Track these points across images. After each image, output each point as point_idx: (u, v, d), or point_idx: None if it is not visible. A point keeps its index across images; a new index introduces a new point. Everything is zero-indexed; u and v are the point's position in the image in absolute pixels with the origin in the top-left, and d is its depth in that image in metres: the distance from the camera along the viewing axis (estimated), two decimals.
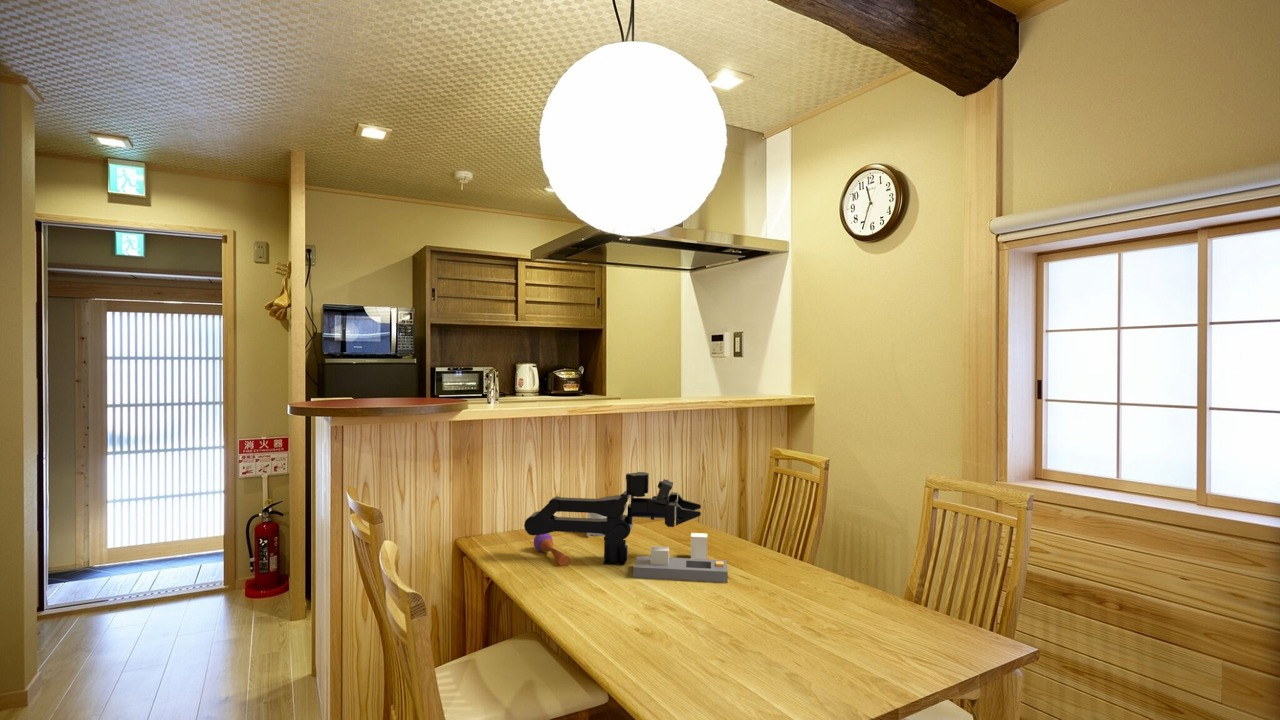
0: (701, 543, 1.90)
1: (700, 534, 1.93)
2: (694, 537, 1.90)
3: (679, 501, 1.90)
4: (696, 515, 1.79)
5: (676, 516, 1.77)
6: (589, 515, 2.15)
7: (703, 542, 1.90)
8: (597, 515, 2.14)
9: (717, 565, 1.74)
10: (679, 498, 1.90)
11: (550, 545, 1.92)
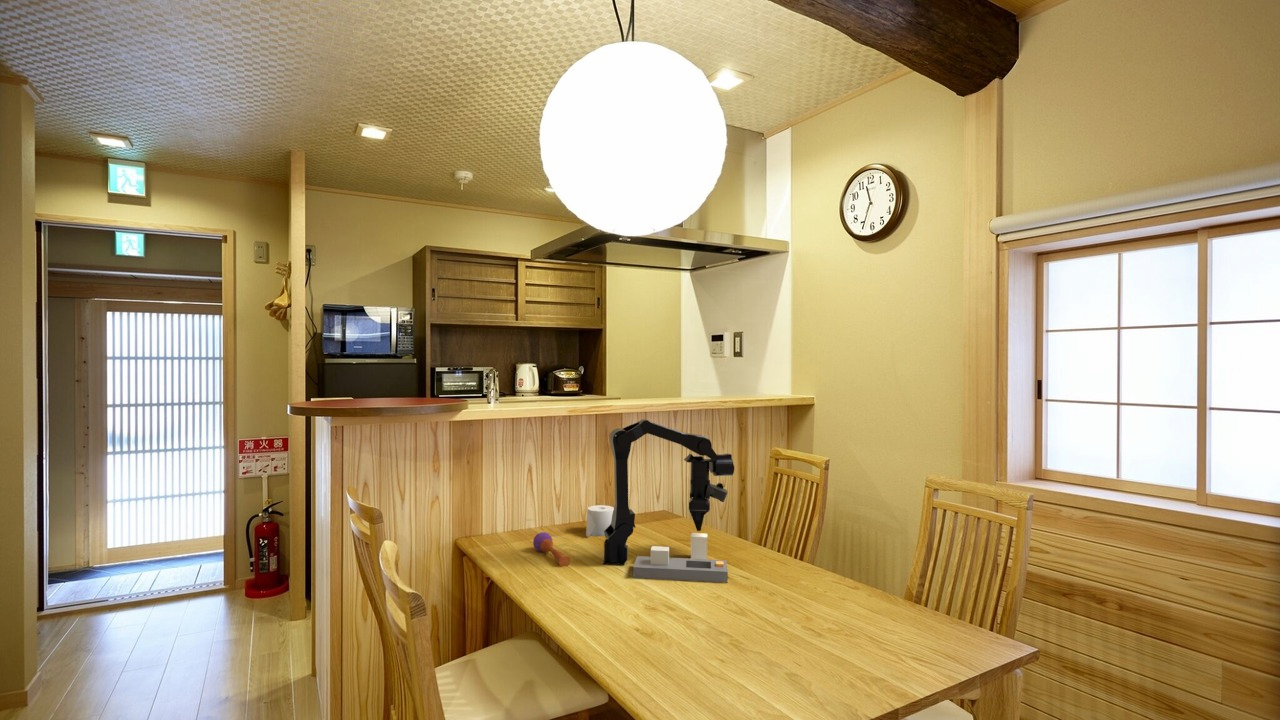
0: (701, 544, 1.90)
1: (700, 534, 1.93)
2: (694, 537, 1.90)
3: None
4: (697, 527, 1.87)
5: (698, 510, 1.84)
6: (588, 515, 2.15)
7: (703, 542, 1.90)
8: (596, 515, 2.14)
9: (717, 565, 1.74)
10: None
11: (550, 545, 1.91)
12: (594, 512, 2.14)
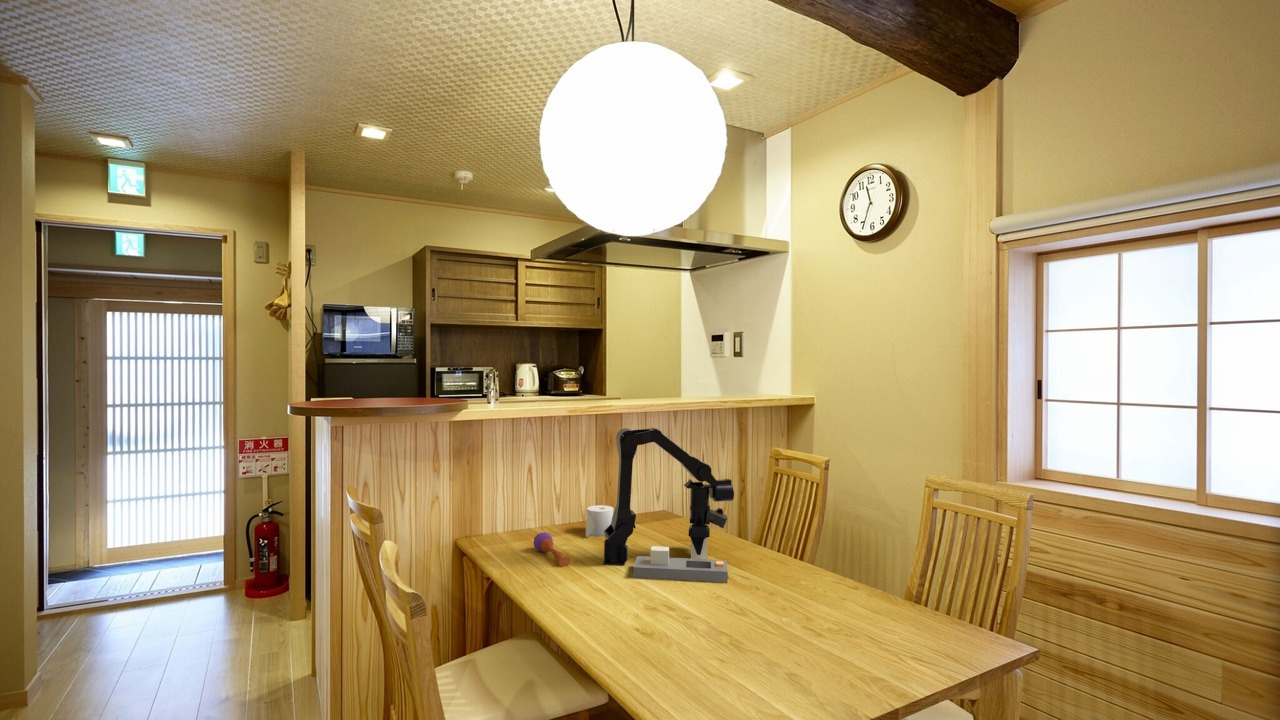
0: None
1: None
2: None
3: None
4: (697, 551, 1.89)
5: None
6: (588, 515, 2.15)
7: (703, 542, 1.90)
8: (596, 515, 2.14)
9: (717, 565, 1.74)
10: None
11: (550, 545, 1.91)
12: (593, 512, 2.14)
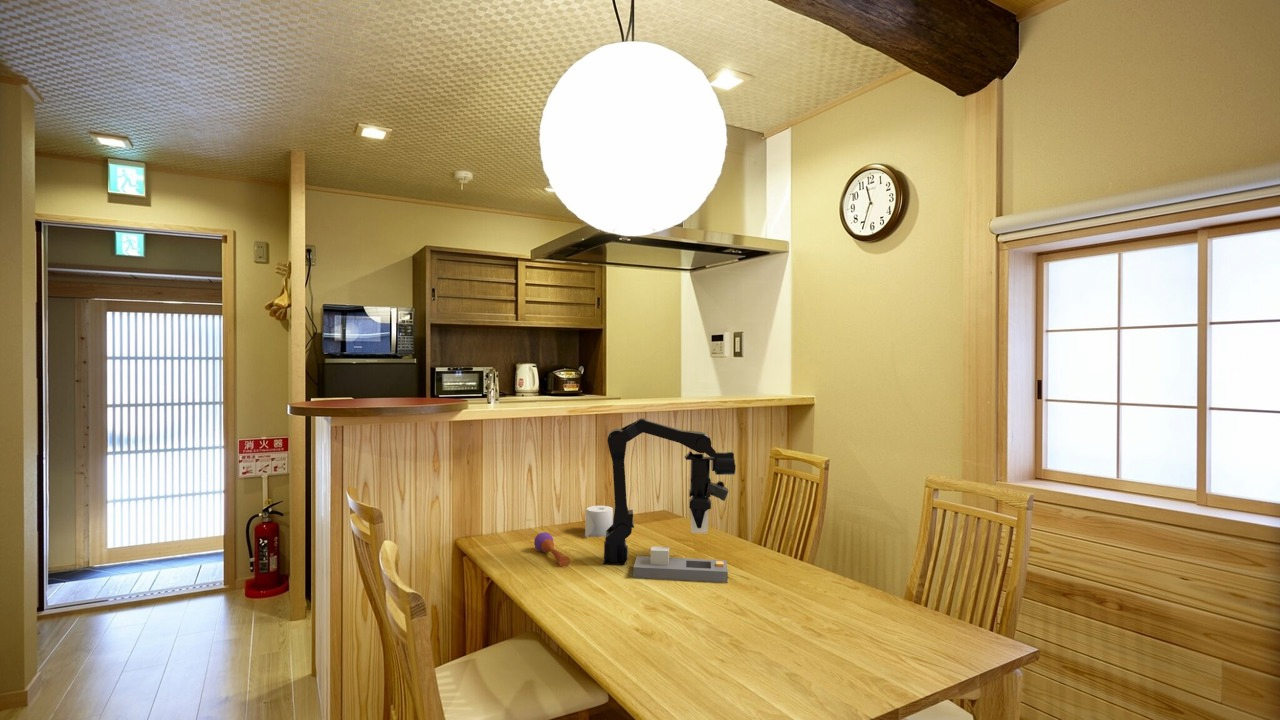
0: None
1: None
2: None
3: None
4: (698, 524, 1.85)
5: None
6: (587, 516, 2.14)
7: (704, 515, 1.85)
8: (595, 515, 2.13)
9: (717, 565, 1.74)
10: None
11: (550, 545, 1.91)
12: (593, 512, 2.14)
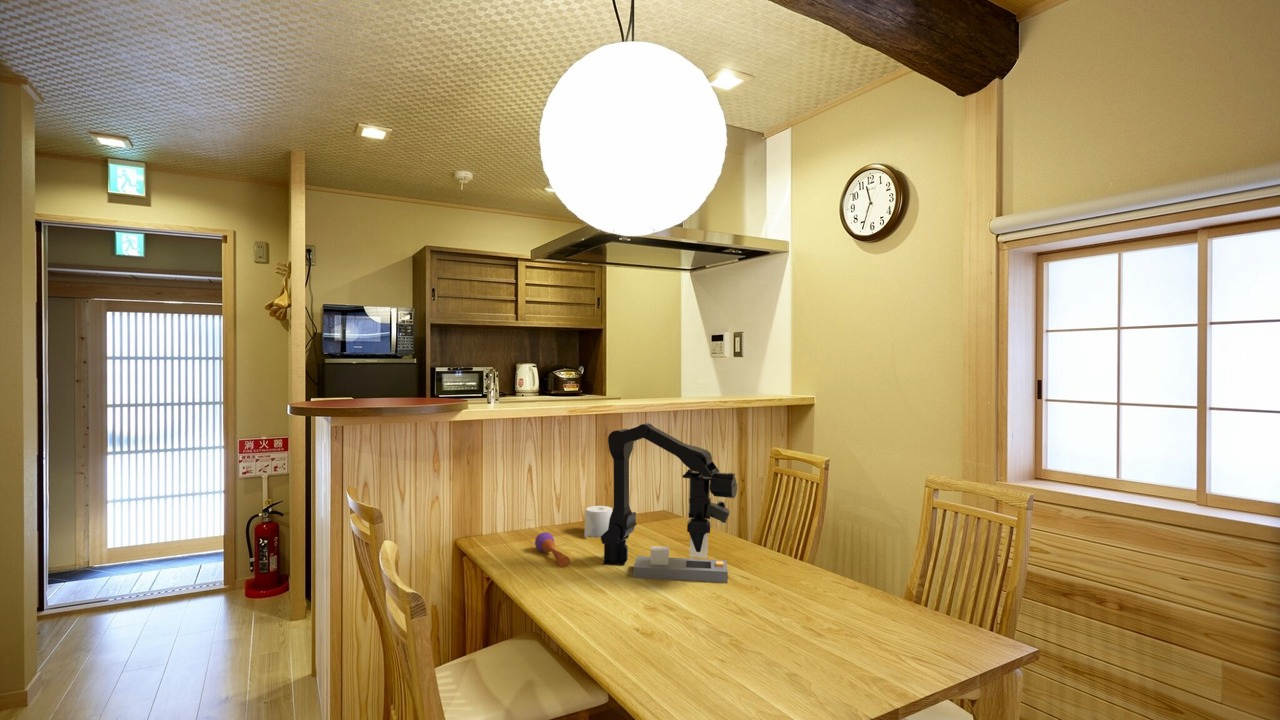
0: None
1: None
2: None
3: None
4: (696, 548, 1.73)
5: None
6: (587, 516, 2.14)
7: (703, 538, 1.74)
8: (595, 516, 2.13)
9: (717, 565, 1.74)
10: None
11: (551, 545, 1.91)
12: (592, 513, 2.13)
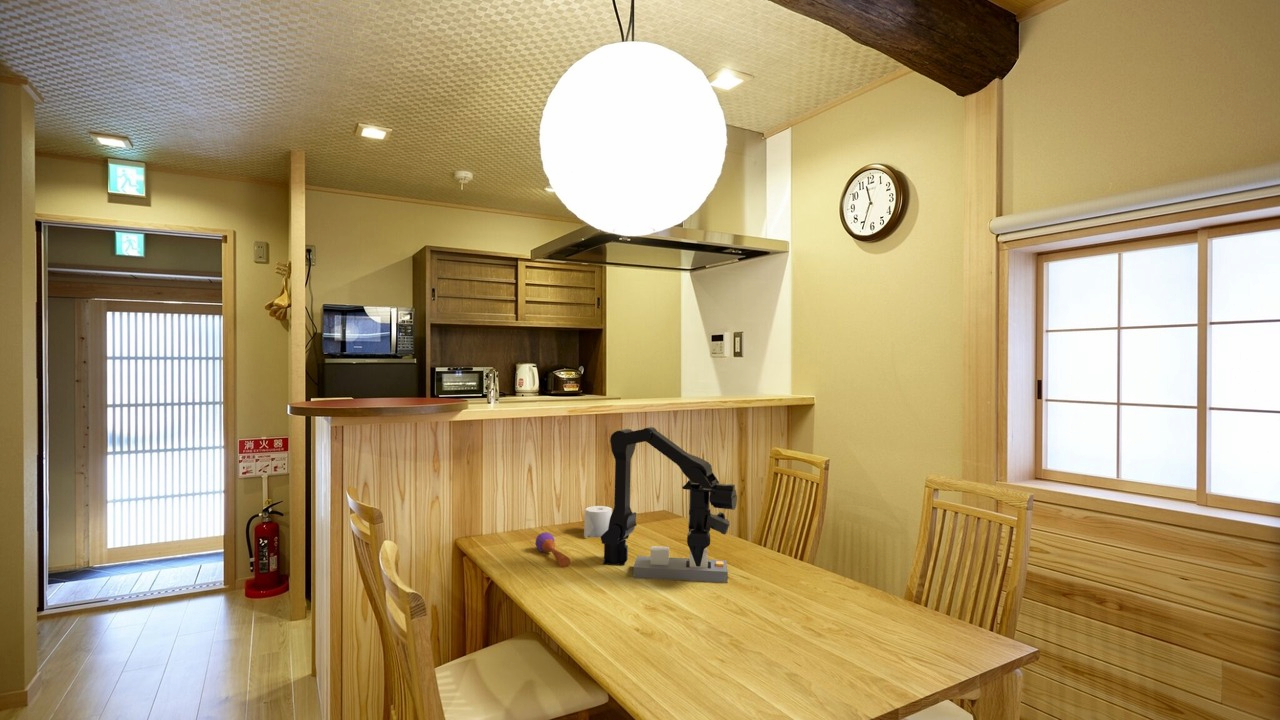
0: None
1: None
2: None
3: None
4: (696, 562, 1.71)
5: (697, 545, 1.68)
6: (586, 516, 2.14)
7: (703, 559, 1.74)
8: (594, 516, 2.13)
9: (717, 565, 1.74)
10: None
11: (551, 545, 1.91)
12: (592, 513, 2.13)
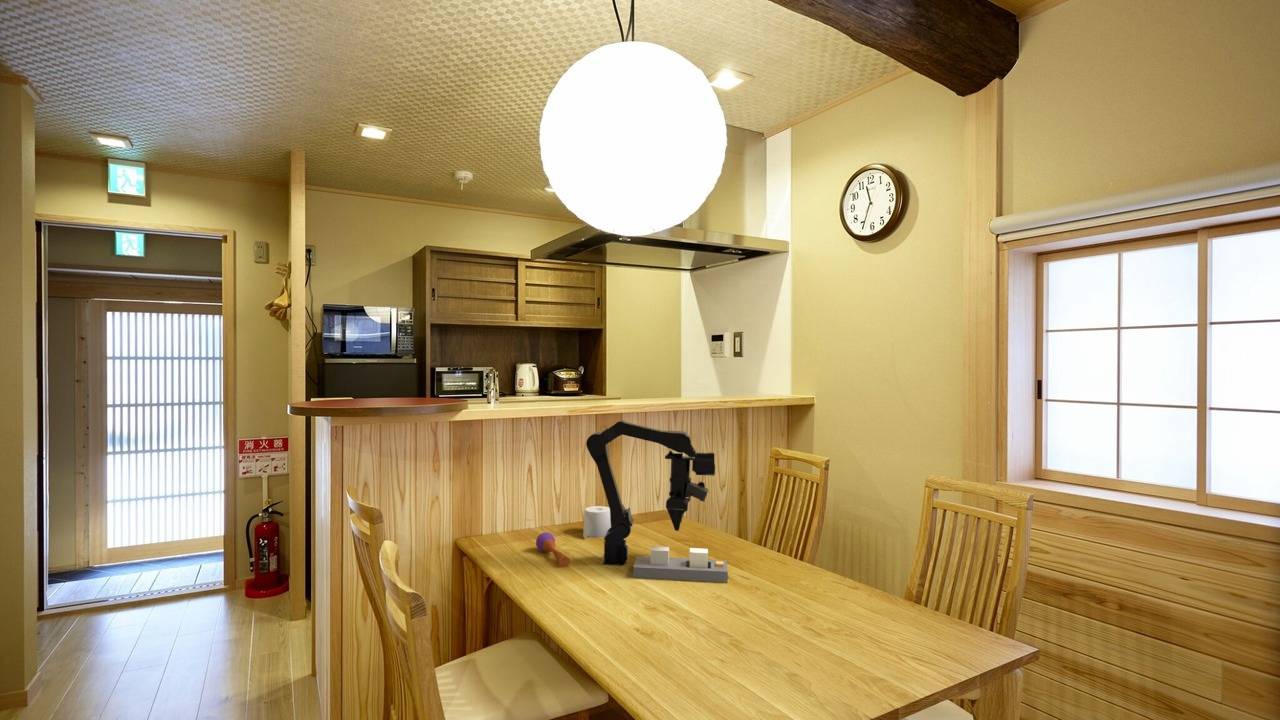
0: (701, 560, 1.74)
1: (700, 549, 1.77)
2: (693, 553, 1.74)
3: None
4: (675, 526, 1.80)
5: (676, 509, 1.77)
6: (586, 516, 2.14)
7: (703, 559, 1.74)
8: (594, 516, 2.12)
9: (717, 565, 1.74)
10: (687, 501, 1.90)
11: (552, 545, 1.91)
12: (591, 513, 2.13)
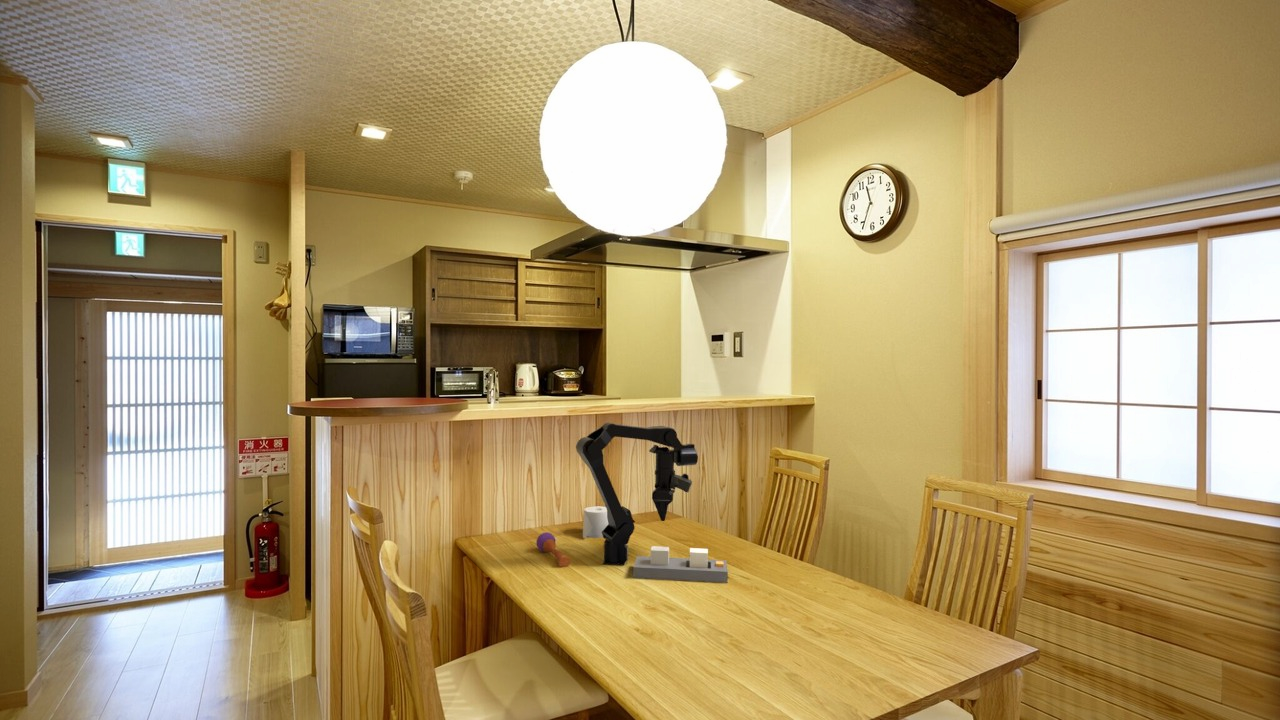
0: (701, 560, 1.74)
1: (700, 549, 1.77)
2: (693, 553, 1.74)
3: None
4: (661, 517, 1.88)
5: (661, 500, 1.85)
6: (585, 516, 2.13)
7: (703, 559, 1.74)
8: (593, 516, 2.12)
9: (717, 565, 1.74)
10: None
11: (552, 546, 1.91)
12: (591, 513, 2.12)
